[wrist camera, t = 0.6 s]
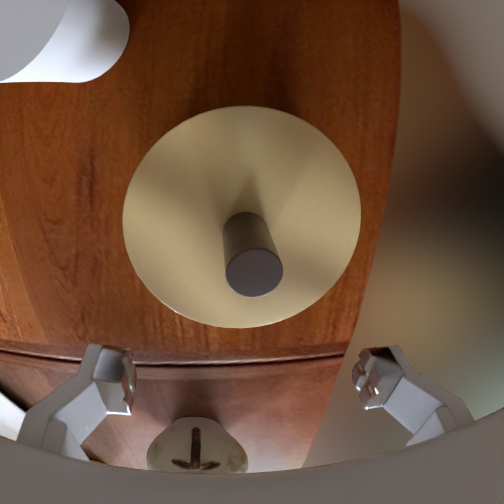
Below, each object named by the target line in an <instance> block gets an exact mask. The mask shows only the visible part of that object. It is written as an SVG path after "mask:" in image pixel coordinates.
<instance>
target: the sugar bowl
mask: <svg viewBox="0 0 504 504" xmlns="http://www.w3.org/2000/svg"><path fill="white" fill-rule="evenodd" d="M146 461H147V466H148V469H149V470H151V471H162V472H175V473H196V474H237V473H247V470H248V458H247V455H246V453H245V451H244V449H243V448H242V446H241V445H240V444H239V443H238V442H237V441H236V439H234V438H233V437H232V436H231V435H230V434H229V433H228V432H227V431H226V430H225V429H224V428H223V427H222V425H221V424H219V423H218V422H216V421H214V420H212V419H208V418H202V417H183V418H179V419H177V420H175V421H174V422H173V423H172V424H171V425H170V426H169V427H168V428H166V429H165V430H164V431H163V432H162V433H160V434H159V435H158V436H157V437H156V438H155V439H154V440H153V442H152V443H151V445H150V447H149V449H148V451H147V456H146Z"/></svg>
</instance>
